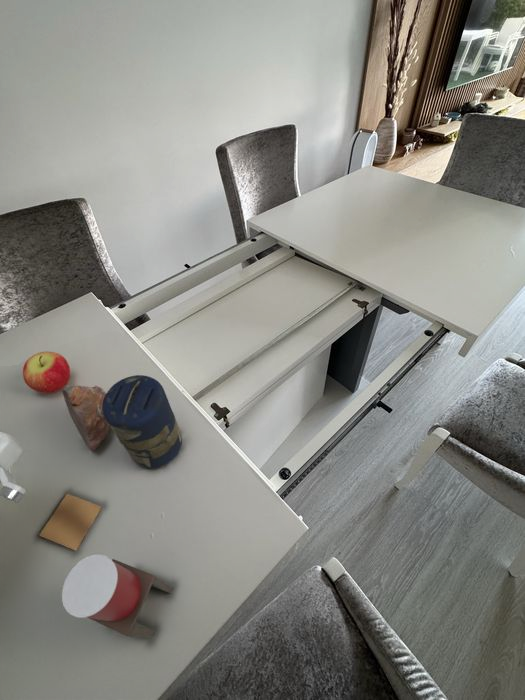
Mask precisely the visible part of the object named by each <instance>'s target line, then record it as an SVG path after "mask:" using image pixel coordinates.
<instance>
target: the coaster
mask: <svg viewBox="0 0 525 700" xmlns="http://www.w3.org/2000/svg"><path fill="white" fill-rule="evenodd" d="M102 508H103V507H102V505H98V504H96V503H93V502H91V501H88V500H85V499H83V498H80V497H78V496H75V495H73V494H69V493H66V495H65V496H64V497H63V499H62V501H61V502H60V504H59V505H58V506H57V507H56V509H55V511H54V512H53V514H52V515H51V516H50V518H49V520H47V522H46V524H45V526H44V527H43V529H42V530H41V531H40V533H39V534H38V537H42V538H44V539H46V540H49V541H51V542H53V543H56V544H58V545H60V546H63V547H65V548H68V549H70V550H73V551H75V552H76V551H77V550H78V548H79V547H80V546H81V544H82V542H83V540H84V539H85V537H86V535H87V534H88V532H89V530H90V528H91V527H92V525H93V523H94V522H95V520H96V519H97V516H98V515H99V513H100V511H101V510H102Z"/></svg>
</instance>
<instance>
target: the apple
mask: <svg viewBox="0 0 525 700" xmlns="http://www.w3.org/2000/svg"><path fill="white" fill-rule="evenodd" d="M70 369H71V368H70V365H69V363H68V360H67V359H66V358H65V357H64V356H63V355H62V354H60V353H58V352H55V351H48V350H47V351H40V352H38V353H35V354H33V355H32V356H30V357H29V358H28V359H27V360H26V361H25V363H24V364H23V368H22V377H23V381H24V383H25V384H26V386H27V387H28V388H30V389H31V390H34V391H36V392H38V393H42V394H53V393H57V392H59V391H60V390H63V389H64V388H66V387H67V385H68V384H69V380H70V377H71V370H70Z"/></svg>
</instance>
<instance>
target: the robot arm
mask: <svg viewBox="0 0 525 700" xmlns="http://www.w3.org/2000/svg"><path fill="white" fill-rule="evenodd" d="M22 454H23V447H22V444H21V443H20V442H19V441H18V440H16V439H15V438H14V437H13V436H11V435H10V434H8V433H5V432H3V431H0V485H2V488H1V489H0V496H1V497H3V498H4V499H6V500H8V501H11V502H14V503H17V504H18V503H19V502H20V501H21V500H22V498H23V497H24V495H25V494H26V493H27V489H25V488H23V487H22V486H20V485H18V484H17V483H16V480H15V478H14V475H13V473H11V472H10V469H11V468H12V467H13V465H14V464H15V463H16V462H17V461H18V459H19V458H20V457H21V456H22Z"/></svg>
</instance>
